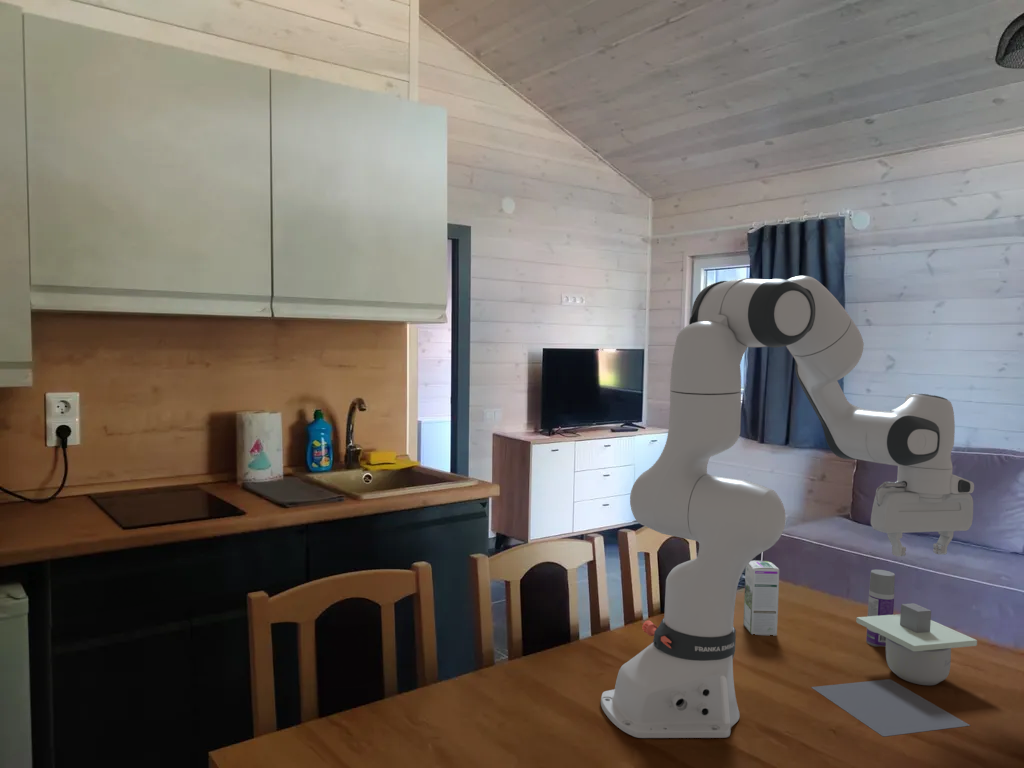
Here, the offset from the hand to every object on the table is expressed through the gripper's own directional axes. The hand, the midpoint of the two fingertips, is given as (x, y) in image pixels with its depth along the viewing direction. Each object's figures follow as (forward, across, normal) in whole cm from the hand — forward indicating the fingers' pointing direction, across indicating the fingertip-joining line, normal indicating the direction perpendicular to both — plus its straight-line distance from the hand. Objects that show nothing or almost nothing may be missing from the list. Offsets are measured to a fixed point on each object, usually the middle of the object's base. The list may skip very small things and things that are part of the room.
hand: (919, 554), depth 136 cm
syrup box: (+23, -16, +25) cm, 38 cm away
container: (+23, +5, +14) cm, 27 cm away
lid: (+15, 0, 0) cm, 15 cm away
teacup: (+23, 0, 0) cm, 23 cm away
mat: (+23, -15, -10) cm, 29 cm away
